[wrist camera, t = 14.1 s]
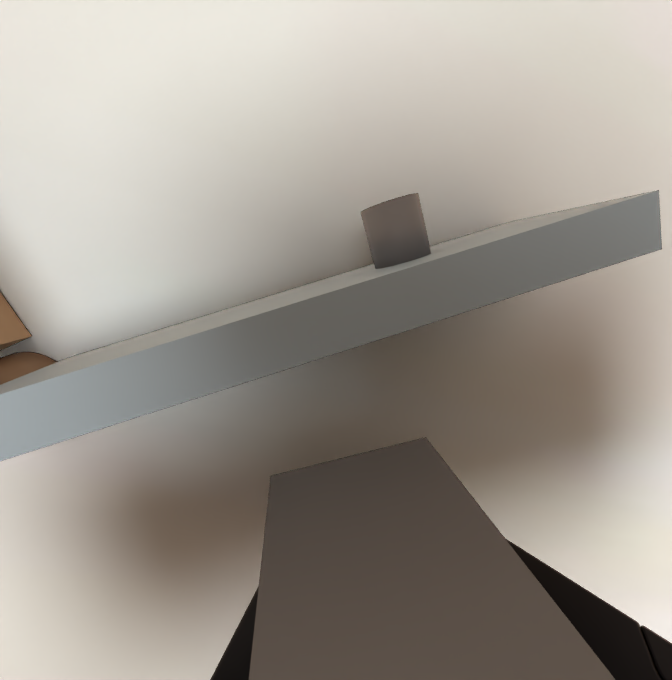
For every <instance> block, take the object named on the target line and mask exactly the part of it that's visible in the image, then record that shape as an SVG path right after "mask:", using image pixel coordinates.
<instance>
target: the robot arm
mask: <svg viewBox="0 0 672 680" xmlns="http://www.w3.org/2000/svg"><path fill="white" fill-rule="evenodd" d="M506 540H507V539H506ZM507 542H508V543H509V544H510V546H511V547H512V548H513V549H514V551H515V552H516V553H517V555H518V556H519V557H520V558H521V560H522V561H523V562H524V563H525V565H526V566H527V567H528V569H529V570H530V571H531V572H532V574H533V575H534V576H535V578H536V579H537V580H538V581H539V583H540V584H541V585H542V586H543V588H544V589H545V590H546V592H547V593H548V594H549V595H550V597H551V598H552V599H553V601H554V602H555V603H556V604H557V606H558V607H559V608H560V609H561V611H562V612H563V613H564V615H565V616H566V617H567V618H568V620H569V621H570V622H571V624H572V625H573V626H574V627H575V629H576V630H577V631H578V632H579V634H580V635H581V636H582V638H583V639H584V640H585V641H586V643H587V644H588V645H589V646H590V648H591V649H592V650H593V652H594V653H595V654H596V655H597V657H598V658H599V659H600V661H601V662H602V663H603V664H604V666H605V667H606V668H607V669H608V671H609V672H610V673H611V675H612V676H613V677H614V678H615V680H672V643H670V642H669V641H667V640H666V639H664V638H662V637H661V636H659V635H658V634H656V633H654V632H653V631H651V630H650V629H648V628H647V627H645V626H640V625H639V623H638V622H637V621H635V620H634V619H632V618H630V617H629V616H627V615H626V614H624V613H622V612H621V611H619V610H618V609H616V608H615V607H613V606H611V605H610V604H608V603H607V602H605V601H603V600H602V599H600V598H599V597H597V596H596V595H594V594H592V593H591V592H589V591H588V590H586V589H584V588H583V587H581V586H580V585H578V584H577V583H575V582H573V581H572V580H570V579H569V578H567V577H565V576H564V575H562V574H561V573H559V572H558V571H556V570H554V569H553V568H551V567H550V566H548V565H546V564H545V563H543V562H542V561H540V560H539V559H537V558H535V557H534V556H532V555H531V554H529V553H527V552H526V551H524V550H523V549H521V548H520V547H518V546H516V545H515V544H513V543H512V542H510V541H508V540H507ZM258 589H259V586H258V588H257V590H256V592H255V594H254V596H253V598H252V600H251V602H250V604H249V606H248V608H247V609H246V611H245V613H244V615H243V617H242V619H241V621H240V623H239V625H238V627H237V629H236V631H235V633H234V635H233V637H232V639H231V641H230V643H229V645H228V646H227V648H226V650H225V652H224V654H223V656H222V658H221V660H220V662H219V664H218V666H217V668H216V670H215V672H214V674H213V676H212V678H211V680H249V672H250V663H251V654H252V644H253V635H254V626H255V617H256V607H257V598H258Z"/></svg>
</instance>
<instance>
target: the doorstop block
mask: <svg viewBox="0 0 672 680" xmlns="http://www.w3.org/2000/svg"><path fill="white" fill-rule="evenodd" d="M249 680H615V678H614V677H613V676H612V675H611V673H610V672H609V671H608V669H607V668H606V667H605V666H604V664H603V663H602V662H601V661H600V659H599V658H598V657H597V655H596V654H595V653H594V652H593V650H592V649H591V648H590V646H589V645H588V644H587V643H586V641H585V640H584V639H583V638H582V636H581V635H580V634H579V632H578V631H577V630H576V629H575V627H574V626H573V625H572V624H571V622H570V621H569V620H568V618H567V617H566V616H565V615H564V613H563V612H562V611H561V609H560V608H559V607H558V606H557V604H556V603H555V602H554V601H553V599H552V598H551V597H550V595H549V594H548V593H547V592H546V590H545V589H544V588H543V586H542V585H541V584H540V583H539V581H538V580H537V579H536V578H535V576H534V575H533V574H532V572H531V571H530V570H529V569H528V567H527V566H526V565H525V563H524V562H523V561H522V560H521V558H520V557H519V556H518V555H517V553H516V552H515V551H514V549H513V548H512V547H511V546H510V544H509V543H508V542H507V540H506V539H505V538H504V537H503V535H502V534H501V533H500V532H499V530H498V529H497V528H496V526H495V525H494V524H493V523H492V521H491V520H490V519H489V517H488V516H487V515H486V514H485V512H484V511H483V510H482V509H481V507H480V506H479V505H478V503H477V502H476V501H475V500H474V498H473V497H472V496H471V494H470V493H469V492H468V491H467V489H466V488H465V487H464V486H463V484H462V483H461V482H460V480H459V479H458V478H457V477H456V475H455V474H454V473H453V472H452V470H451V469H450V468H449V466H448V465H447V464H446V463H445V461H444V460H443V459H442V457H441V456H440V455H439V454H438V452H437V451H436V450H435V449H434V447H433V446H432V445H431V443H430V442H429V441H428V440H427V438H426V437H425V438H421V439H417V440H413V441H409V442H405V443H401V444H397V445H393V446H389V447H385V448H381V449H377V450H373V451H369V452H365V453H361V454H357V455H353V456H349V457H345V458H341V459H337V460H333V461H329V462H325V463H321V464H317V465H313V466H309V467H305V468H301V469H297V470H292V471H288V472H284V473H280V474H276V475H272V476H271V478H270V487H269V497H268V506H267V515H266V524H265V534H264V543H263V552H262V561H261V571H260V580H259V589H258V598H257V607H256V617H255V626H254V635H253V644H252V654H251V663H250V672H249Z"/></svg>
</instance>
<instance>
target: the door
mask: <svg viewBox="0 0 672 680" xmlns="http://www.w3.org/2000/svg"><path fill="white" fill-rule="evenodd" d="M361 216H362V220H363V224H364V227H365V231H366V235H367V239H368V243H369V247H370V250H371V254H372V258H373V262H374V264H371V265H368V266H364V267H361V268H358V269H355V270H351V271H348V272H345V273H342V274H338V275H335V276H332V277H329V278H325V279H322V280H319V281H316V282H312V283H309V284H306V285H303V286H299V287H296V288H293V289H290V290H286V291H283V292H280V293H277V294H273V295H270V296H267V297H264V298H260V299H257V300H254V301H251V302H247V303H244V304H241V305H238V306H234V307H231V308H228V309H225V310H221V311H218V312H215V313H212V314H208V315H205V316H202V317H199V318H195V319H192V320H189V321H186V322H182V323H179V324H176V325H173V326H169V327H166V328H163V329H160V330H156V331H153V332H150V333H147V334H143V335H140V336H137V337H133V338H130V339H127V340H124V341H120V342H117V343H114V344H111V345H107V346H104V347H101V348H98V349H94V350H91V351H88V352H85V353H81V354H78V355H75V356H72V357H69V358H66V359H64V360H61V361H59V362H56V363H54V364H51V365H49V366H46V367H44V368H41V369H39V370H36V371H34V372H31V373H29V374H26V375H24V376H21V377H19V378H16V379H14V380H11V381H9V382H6V383H4V384H1V385H0V461H3V460H6V459H9V458H12V457H15V456H19V455H22V454H25V453H28V452H31V451H34V450H37V449H40V448H44V447H47V446H50V445H53V444H56V443H59V442H62V441H65V440H68V439H72V438H75V437H78V436H81V435H84V434H87V433H90V432H93V431H96V430H100V429H103V428H106V427H109V426H112V425H115V424H118V423H121V422H125V421H128V420H131V419H134V418H137V417H140V416H143V415H146V414H149V413H153V412H156V411H159V410H162V409H165V408H168V407H171V406H174V405H177V404H181V403H184V402H187V401H190V400H193V399H196V398H199V397H202V396H206V395H209V394H212V393H215V392H218V391H221V390H224V389H227V388H230V387H234V386H237V385H240V384H243V383H246V382H249V381H252V380H255V379H258V378H262V377H265V376H268V375H271V374H274V373H277V372H280V371H283V370H287V369H290V368H293V367H296V366H299V365H302V364H305V363H308V362H311V361H315V360H318V359H321V358H324V357H327V356H330V355H333V354H336V353H339V352H343V351H346V350H349V349H352V348H355V347H358V346H361V345H364V344H368V343H371V342H374V341H377V340H380V339H383V338H386V337H389V336H392V335H396V334H399V333H402V332H405V331H408V330H411V329H414V328H417V327H420V326H424V325H427V324H430V323H433V322H436V321H439V320H442V319H445V318H449V317H452V316H455V315H458V314H461V313H464V312H467V311H470V310H473V309H477V308H480V307H483V306H486V305H489V304H492V303H495V302H498V301H501V300H505V299H508V298H511V297H514V296H517V295H520V294H523V293H526V292H530V291H533V290H536V289H539V288H542V287H545V286H548V285H551V284H554V283H558V282H561V281H564V280H567V279H570V278H573V277H576V276H579V275H582V274H586V273H589V272H592V271H595V270H598V269H601V268H604V267H607V266H611V265H614V264H617V263H620V262H623V261H626V260H629V259H632V258H635V257H639V256H642V255H645V254H648V253H651V252H654V251H657V250H660V249H662V242H661V223H660V204H659V190H657V191H653V192H648V193H643V194H638V195H634V196H629V197H624V198H620V199H615V200H610V201H605V202H601V203H596V204H591V205H587V206H582V207H577V208H572V209H568V210H563V211H558V212H553V213H549V214H544V215H539V216H535V217H530V218H525V219H520V220H516V221H511V222H508V223H504V224H501V225H498V226H495V227H491V228H488V229H485V230H482V231H478V232H475V233H472V234H469V235H465V236H462V237H459V238H455V239H452V240H449V241H446V242H442V243H439V244H436V245H433V246H429V242H428V237H427V233H426V228H425V223H424V219H423V214H422V210H421V205H420V200H419V196H418V193H414V194H409V195H405V196H402V197H398V198H395V199H392V200H388V201H385V202H383V203H380V204H377V205H374V206H372V207H370V208H367V209H365V210H363V211H362V212H361Z"/></svg>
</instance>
